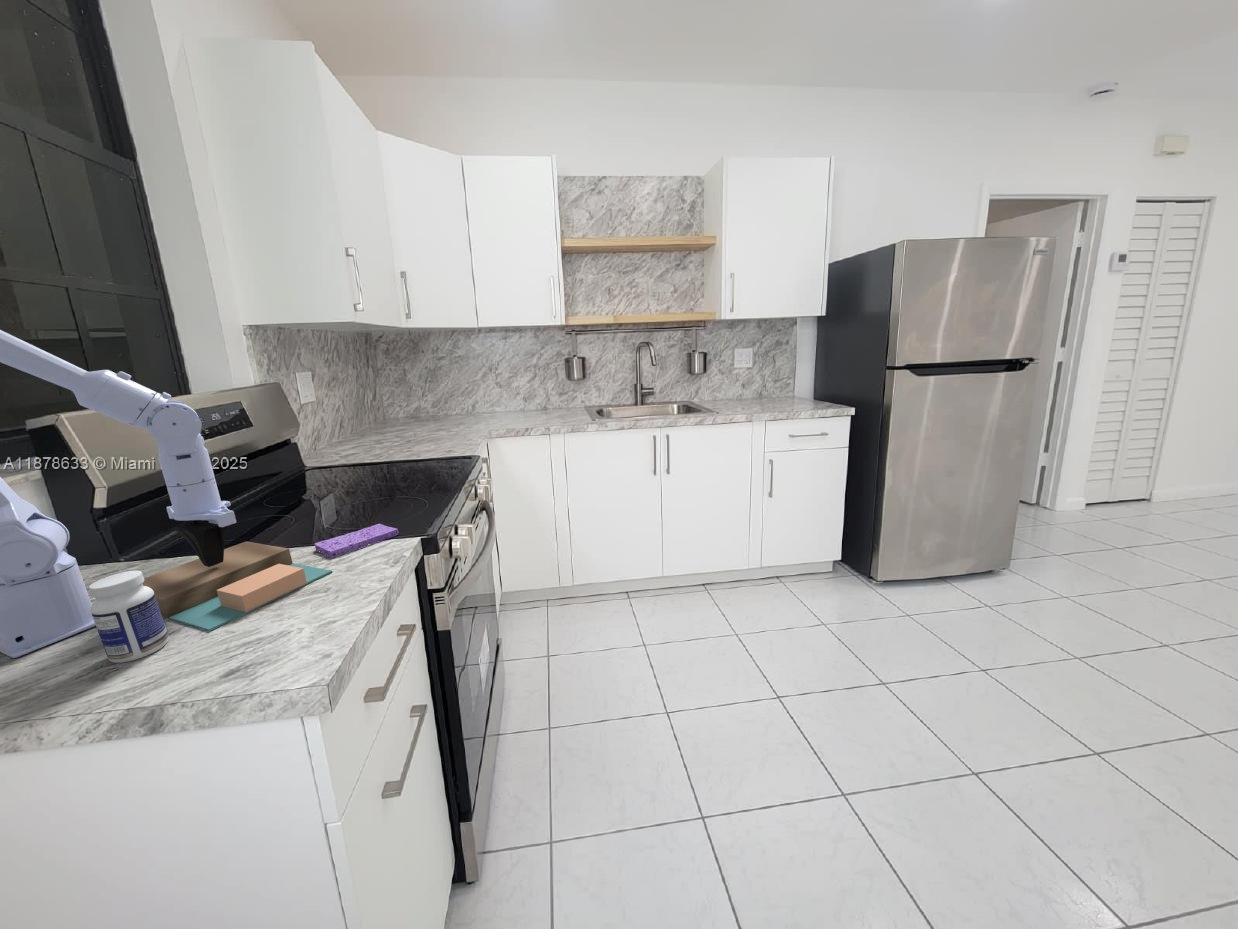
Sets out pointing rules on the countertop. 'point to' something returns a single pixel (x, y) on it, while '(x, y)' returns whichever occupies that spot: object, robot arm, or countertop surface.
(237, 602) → the tile
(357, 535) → the sponges
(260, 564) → the board
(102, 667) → the countertop surface
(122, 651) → the pill bottle
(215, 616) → the teal mat
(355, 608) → the countertop surface
